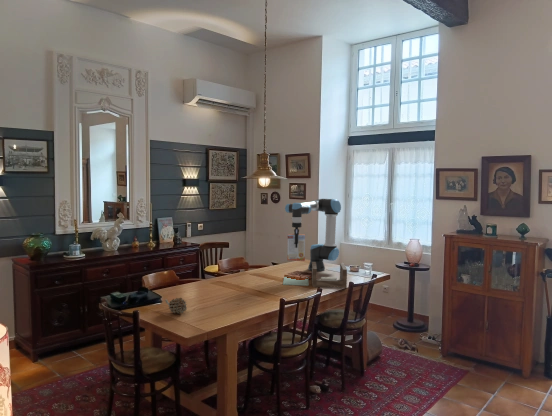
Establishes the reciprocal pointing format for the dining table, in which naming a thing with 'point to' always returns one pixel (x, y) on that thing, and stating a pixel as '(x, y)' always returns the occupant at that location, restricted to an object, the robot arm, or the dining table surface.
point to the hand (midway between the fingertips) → (296, 250)
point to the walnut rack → (330, 283)
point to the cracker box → (291, 248)
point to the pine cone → (177, 305)
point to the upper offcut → (328, 278)
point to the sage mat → (295, 282)
